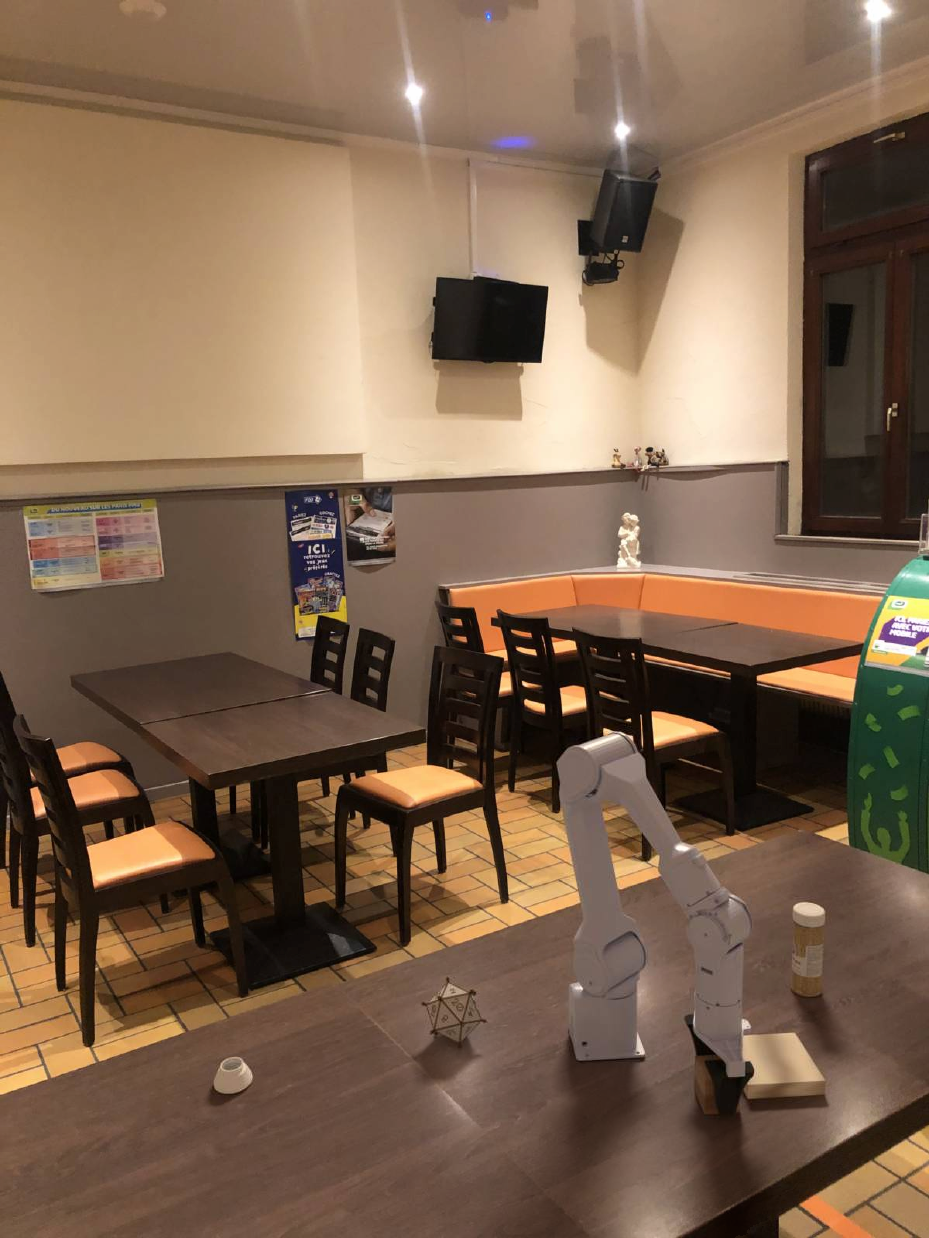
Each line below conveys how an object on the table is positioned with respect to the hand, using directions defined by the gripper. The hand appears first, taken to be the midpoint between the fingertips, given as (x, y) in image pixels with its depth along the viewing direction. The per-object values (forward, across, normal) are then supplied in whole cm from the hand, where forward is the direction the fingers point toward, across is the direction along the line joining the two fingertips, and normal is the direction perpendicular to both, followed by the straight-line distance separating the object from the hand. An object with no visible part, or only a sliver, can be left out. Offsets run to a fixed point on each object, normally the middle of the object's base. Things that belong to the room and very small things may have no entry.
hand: (716, 1090), depth 118 cm
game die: (+2, +16, +33) cm, 37 cm away
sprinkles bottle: (+2, +23, -21) cm, 31 cm away
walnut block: (+2, 0, 0) cm, 2 cm away
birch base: (+1, +5, -9) cm, 10 cm away
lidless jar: (+2, +9, +63) cm, 64 cm away
